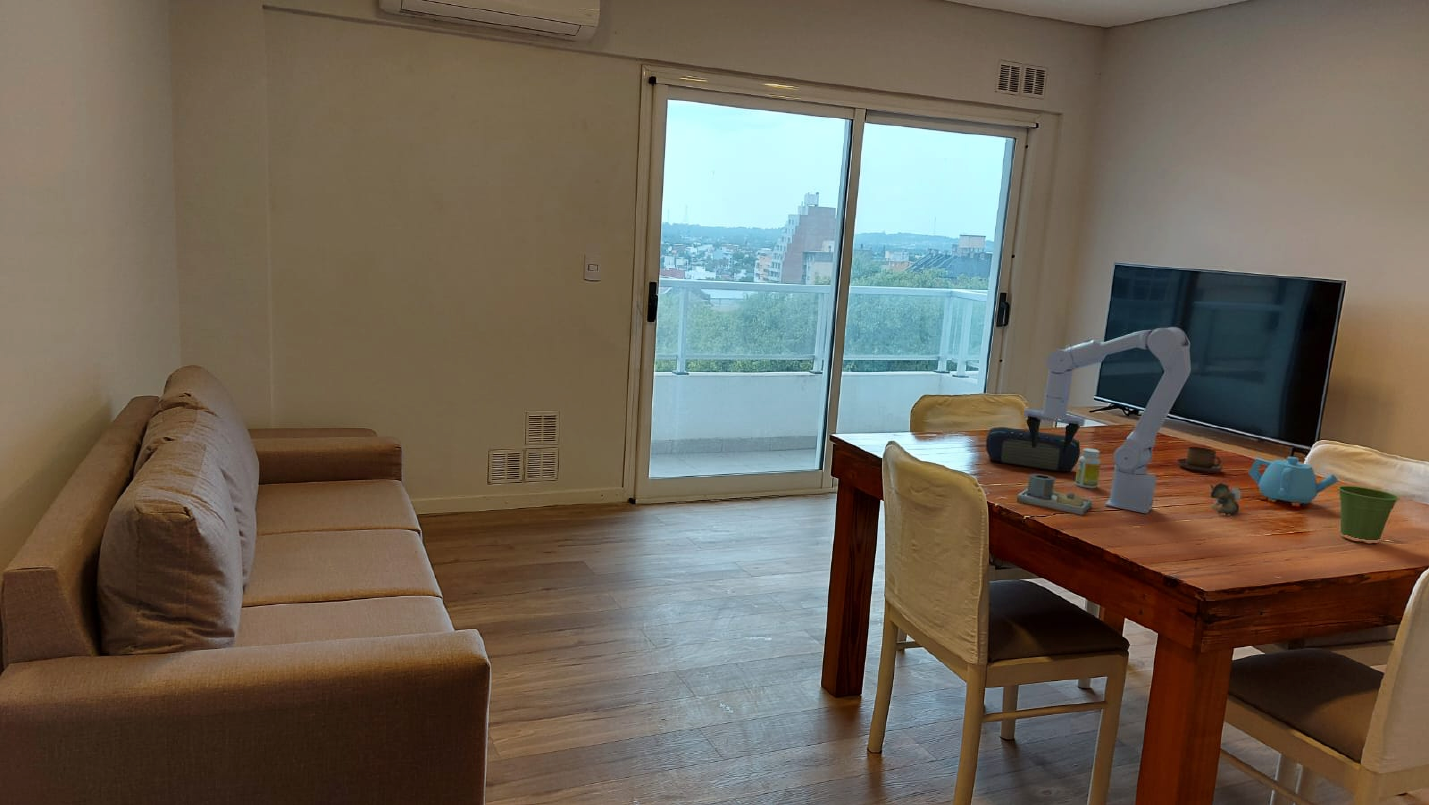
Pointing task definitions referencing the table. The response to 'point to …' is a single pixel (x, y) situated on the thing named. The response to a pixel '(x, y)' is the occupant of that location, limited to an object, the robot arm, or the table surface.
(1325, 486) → the teapot
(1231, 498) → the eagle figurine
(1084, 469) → the supplement bottle
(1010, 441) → the portable speaker
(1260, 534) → the table surface
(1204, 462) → the cup and saucer
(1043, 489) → the grey hexagonal nut
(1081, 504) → the carrier board
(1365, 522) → the plant pot
